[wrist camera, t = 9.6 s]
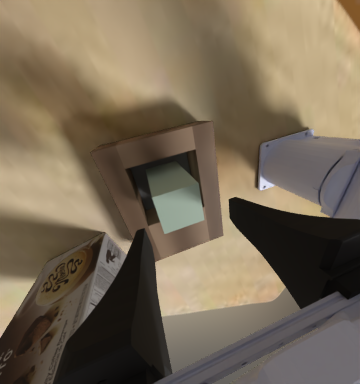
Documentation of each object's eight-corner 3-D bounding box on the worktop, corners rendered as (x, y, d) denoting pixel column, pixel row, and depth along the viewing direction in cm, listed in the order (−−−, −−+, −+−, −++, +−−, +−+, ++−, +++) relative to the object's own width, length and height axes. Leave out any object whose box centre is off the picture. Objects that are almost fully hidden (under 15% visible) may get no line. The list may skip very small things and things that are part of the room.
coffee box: (78, 283, 24) (-3, 514, 10) (45, 260, 21) (-142, 554, 7) (129, 256, 24) (122, 439, 10) (105, 230, 21) (47, 442, 7)
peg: (175, 160, 19) (198, 183, 12) (181, 187, 21) (204, 219, 14) (145, 169, 19) (152, 197, 12) (154, 196, 21) (164, 234, 14)
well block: (198, 121, 18) (212, 120, 15) (211, 220, 26) (223, 235, 22) (99, 146, 17) (90, 152, 13) (144, 244, 24) (146, 265, 21)
